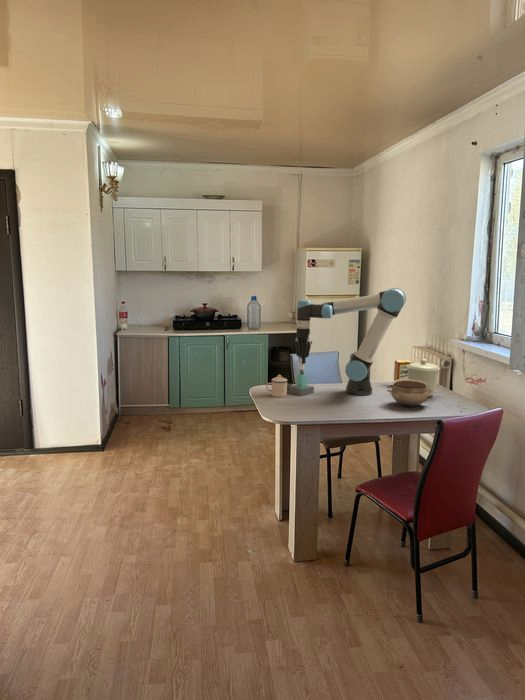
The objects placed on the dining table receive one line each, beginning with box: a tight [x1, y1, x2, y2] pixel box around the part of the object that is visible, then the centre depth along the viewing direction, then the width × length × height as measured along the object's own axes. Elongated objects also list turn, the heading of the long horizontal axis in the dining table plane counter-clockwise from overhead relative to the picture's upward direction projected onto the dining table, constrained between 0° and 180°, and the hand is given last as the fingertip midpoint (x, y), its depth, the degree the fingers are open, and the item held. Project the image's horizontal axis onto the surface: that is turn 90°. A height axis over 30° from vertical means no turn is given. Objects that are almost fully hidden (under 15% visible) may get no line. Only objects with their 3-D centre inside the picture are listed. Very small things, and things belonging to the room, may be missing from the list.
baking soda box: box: [392, 359, 415, 386], centre depth 316 cm, size 10×6×16 cm
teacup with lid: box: [265, 374, 288, 398], centre depth 290 cm, size 12×9×12 cm
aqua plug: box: [296, 369, 308, 388], centre depth 296 cm, size 4×4×14 cm
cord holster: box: [287, 383, 295, 392], centre depth 304 cm, size 7×7×2 cm
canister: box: [407, 358, 441, 398], centre depth 296 cm, size 18×18×21 cm
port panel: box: [288, 383, 315, 397], centre depth 297 cm, size 10×10×4 cm
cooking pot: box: [386, 379, 432, 408], centre depth 274 cm, size 25×19×12 cm
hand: (301, 368), depth 295 cm, fingers closed
